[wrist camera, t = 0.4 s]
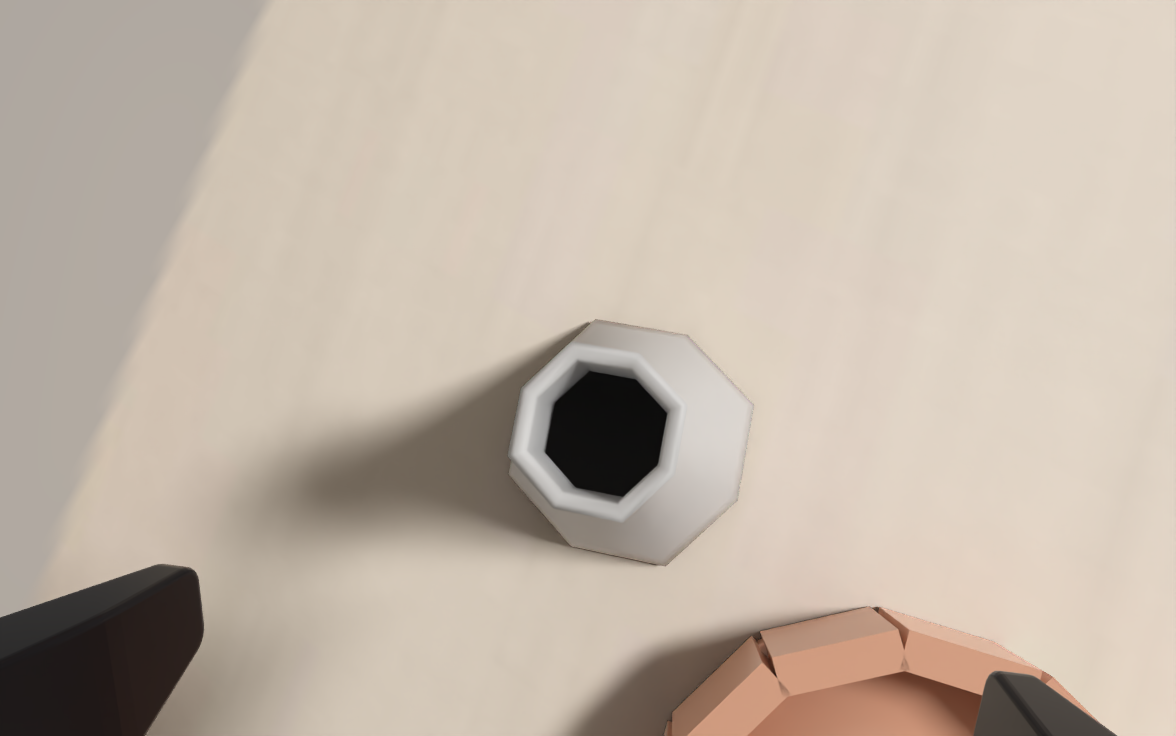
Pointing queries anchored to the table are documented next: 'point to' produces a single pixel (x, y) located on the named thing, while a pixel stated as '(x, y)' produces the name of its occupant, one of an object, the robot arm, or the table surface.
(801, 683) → the bowl
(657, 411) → the flask
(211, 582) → the table surface
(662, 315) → the table surface
